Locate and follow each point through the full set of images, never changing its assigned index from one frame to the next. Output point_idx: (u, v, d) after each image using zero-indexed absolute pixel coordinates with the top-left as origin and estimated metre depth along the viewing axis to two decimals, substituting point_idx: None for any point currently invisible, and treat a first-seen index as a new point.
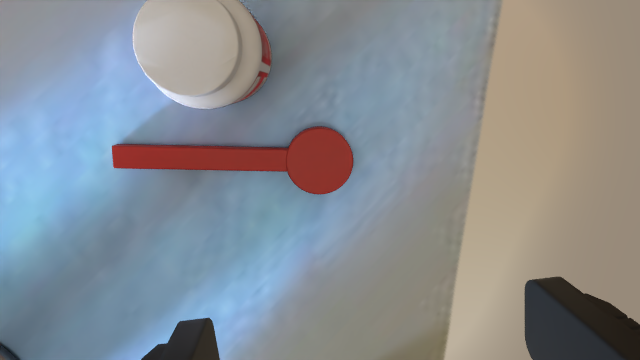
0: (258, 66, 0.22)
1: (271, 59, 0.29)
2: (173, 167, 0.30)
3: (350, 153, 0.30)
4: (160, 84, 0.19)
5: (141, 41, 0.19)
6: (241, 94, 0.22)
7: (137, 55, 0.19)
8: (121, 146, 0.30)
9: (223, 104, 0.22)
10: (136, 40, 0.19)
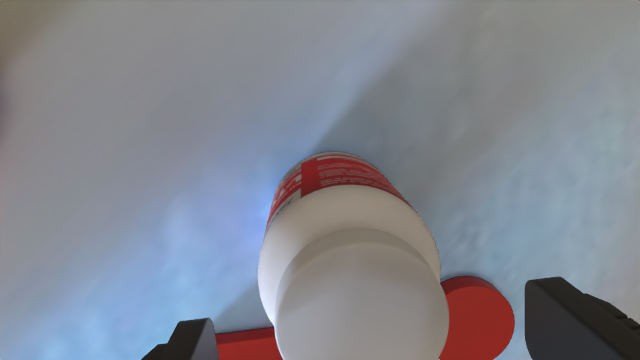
0: None
1: None
2: None
3: (510, 311, 0.22)
4: None
5: (290, 336, 0.11)
6: None
7: (285, 356, 0.11)
8: None
9: None
10: (282, 336, 0.11)
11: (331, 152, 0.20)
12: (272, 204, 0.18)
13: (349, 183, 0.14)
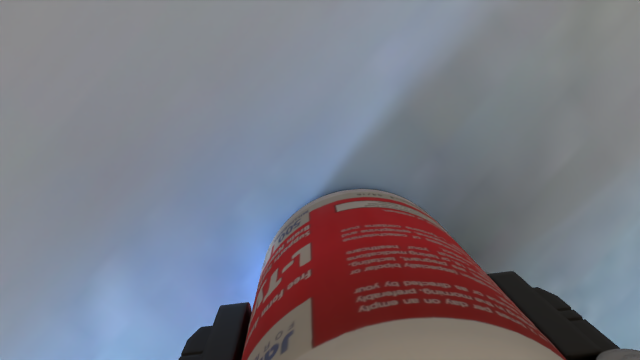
0: None
1: None
2: None
3: None
4: None
5: None
6: None
7: None
8: None
9: None
10: None
11: (358, 191, 0.12)
12: (258, 292, 0.10)
13: (427, 311, 0.06)
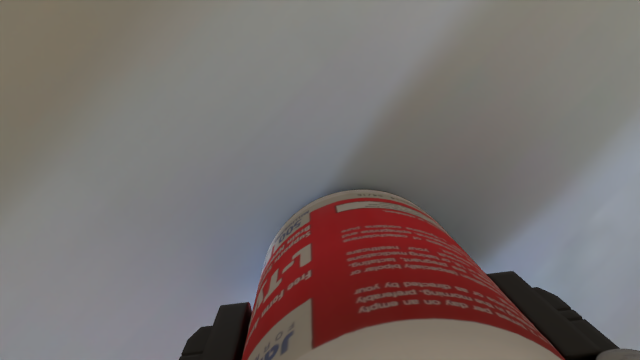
0: None
1: None
2: None
3: None
4: None
5: None
6: None
7: None
8: None
9: None
10: None
11: (359, 191, 0.12)
12: (258, 293, 0.10)
13: (427, 312, 0.06)
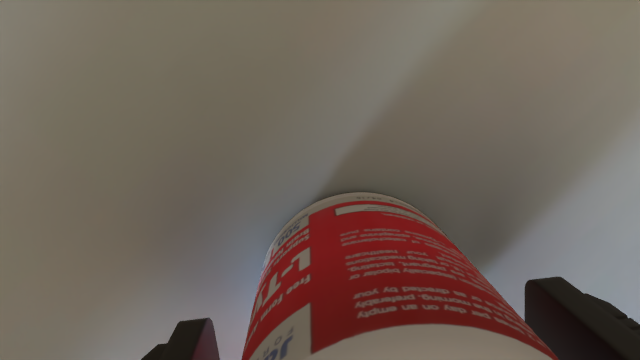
0: None
1: None
2: None
3: None
4: None
5: None
6: None
7: None
8: None
9: None
10: None
11: (358, 194, 0.12)
12: (257, 296, 0.10)
13: (426, 317, 0.06)
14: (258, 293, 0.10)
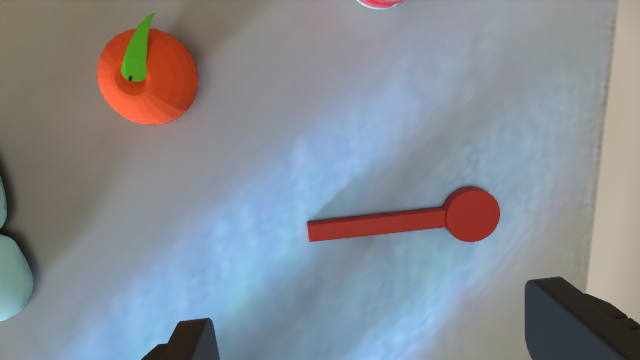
0: None
1: None
2: (356, 235, 0.38)
3: (497, 206, 0.37)
4: None
5: None
6: None
7: None
8: (314, 224, 0.37)
9: None
10: None
11: None
12: None
13: None
14: None
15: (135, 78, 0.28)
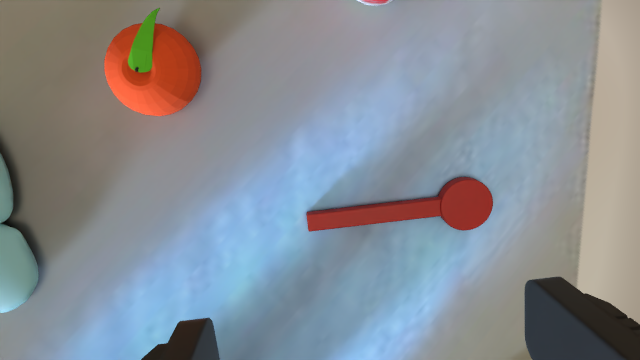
0: None
1: None
2: (354, 224, 0.39)
3: (490, 195, 0.38)
4: None
5: None
6: None
7: None
8: (313, 214, 0.38)
9: None
10: None
11: None
12: None
13: None
14: None
15: (141, 69, 0.29)
